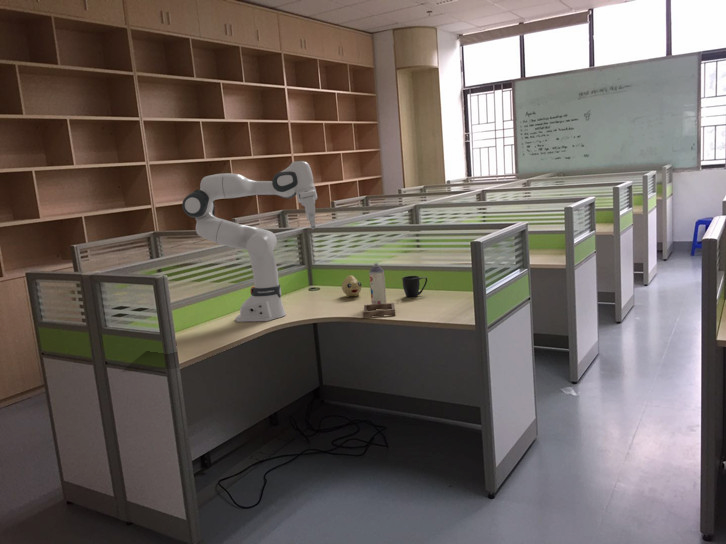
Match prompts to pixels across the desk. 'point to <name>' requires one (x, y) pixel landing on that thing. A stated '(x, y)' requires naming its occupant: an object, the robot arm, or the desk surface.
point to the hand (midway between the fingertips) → (313, 227)
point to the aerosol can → (377, 285)
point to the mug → (412, 286)
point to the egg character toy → (351, 286)
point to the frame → (379, 312)
